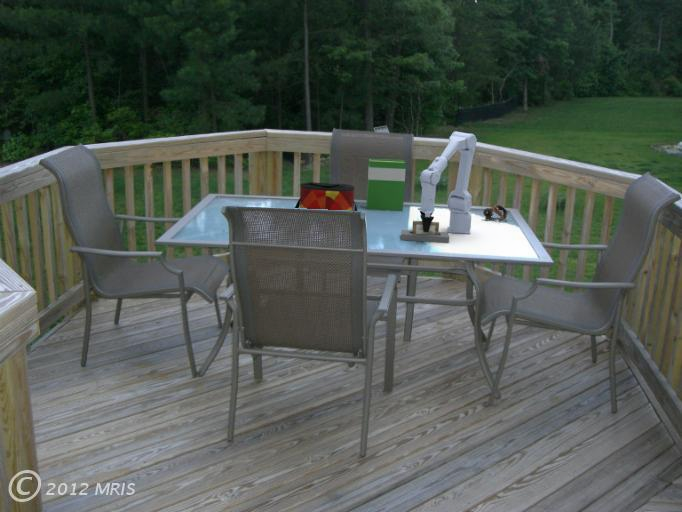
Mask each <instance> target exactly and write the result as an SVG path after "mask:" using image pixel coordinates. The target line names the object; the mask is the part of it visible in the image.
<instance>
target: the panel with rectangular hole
mask: <svg viewBox="0 0 682 512" xmlns="http://www.w3.org/2000/svg"><path fill="white" fill-rule="evenodd" d="M400 237H401V241H412V242H413V241H414V242H425V241H428V243H443V244H450V234H449V232H448V231H447V232H445V231H438V235H429V234H413V233H412V229H401V233H400Z"/></svg>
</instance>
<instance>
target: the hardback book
mask: <svg viewBox="0 0 682 512" xmlns="http://www.w3.org/2000/svg"><path fill="white" fill-rule="evenodd" d="M406 167H407V162H406V160H405V159H404V160H403V159H382V158H369V159H368V170H367V171H368V173H367V174H368V175H367V189H366V206H365V207H366V210H369V211H370V210H371V211H386V210H389V211H390V212H403V210H404V197H405V196H404V195H405V184H406V183H405V182H406Z"/></svg>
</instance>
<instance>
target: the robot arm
mask: <svg viewBox="0 0 682 512" xmlns="http://www.w3.org/2000/svg"><path fill="white" fill-rule="evenodd" d="M477 141H478V139H477V137H476V135H475V134H474V133H467V132H461V131H455V130H454V131H453V132H452V134H451V135H450V136H449V139H448V144H447V146H446V147H445V149H444V150H443V152H442V153H441V155H440V156H437V157H435V159H434V160H433V161H432V162H431V164H430V165H429V166H428V167H427V169H424V170H422V171H421V173H420V176H419V181H420V187H421V199H420V207H417V210H418V211H419V213H420V219H421V221H422V223H423V232H429V229H430V225H431V222H433V220H434V219H435V216H432V215H433V214H434V212H435V200H436V188H437V185H438V183H439V182H440V179H441V176H442V173H443V171H444V170H446V168H447V166H448V161H449V160H450V159H451V158H452V157H453V155H455V153H456V152H457V151H458V152H459V153H460V159H459V165H458V170H457V176H456V183H455V189H454V190H452V191H451V192H450V193H449V196H448V199H447V201H446V204H447V208H448V211H449V213H450V214H449V225H448V226H447V232H448V233H452V234H453V233H454V234H471V226H472V225H471V224H472V213H471V212H470V210H471V209H472V207H473V204H472V199H473V196H472V194H470V192H469V191H468V189H469V182H470V178H471V177H470V176H471V171H472V167H473V166H472V165H473V159H474V153H476V152H475V151H476V145H477Z"/></svg>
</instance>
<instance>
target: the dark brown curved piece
mask: <svg viewBox="0 0 682 512" xmlns="http://www.w3.org/2000/svg"><path fill="white" fill-rule="evenodd" d="M494 213H495V214H496V215H498V216H499V219H498V221H499V222H500V221H502V222H503V221H504V220H506V219H507V217H508V216H507V215H508V213H509V212H508V210H507V209H506V208H505V207H504V206H502V205H500V204H495V205H494V206H491V207H486V208H485V209H483V213H482V214H483V216H484V217H485V218H487V219H488V220H489V219H490V218H491V217H490V216H492V217H493V216H494ZM485 218H484V219H485ZM487 219H486V220H487Z"/></svg>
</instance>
